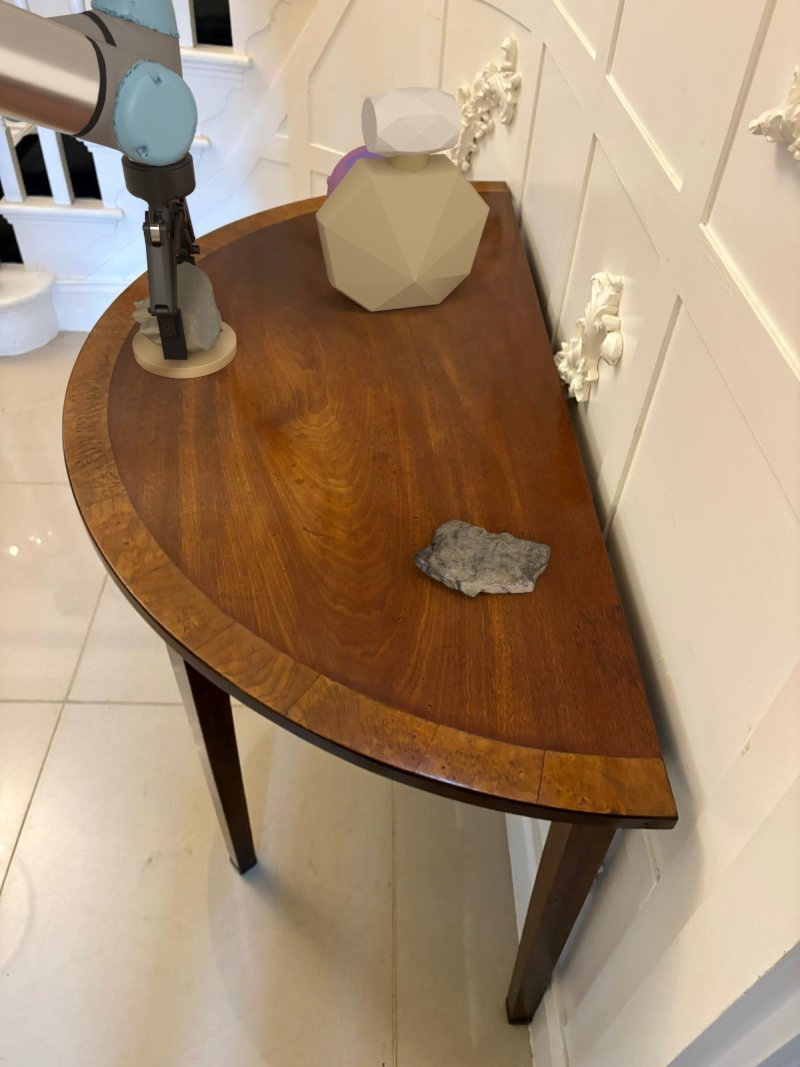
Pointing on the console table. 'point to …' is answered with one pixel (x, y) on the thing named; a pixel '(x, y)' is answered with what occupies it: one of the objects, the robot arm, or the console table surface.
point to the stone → (482, 560)
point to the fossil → (187, 311)
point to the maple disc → (196, 362)
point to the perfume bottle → (403, 206)
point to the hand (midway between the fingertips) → (183, 330)
